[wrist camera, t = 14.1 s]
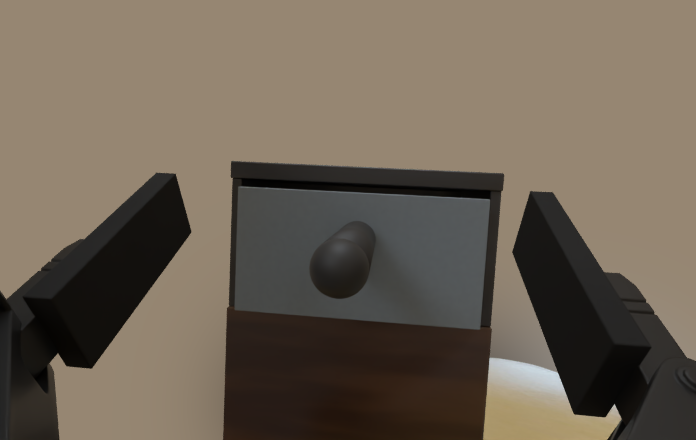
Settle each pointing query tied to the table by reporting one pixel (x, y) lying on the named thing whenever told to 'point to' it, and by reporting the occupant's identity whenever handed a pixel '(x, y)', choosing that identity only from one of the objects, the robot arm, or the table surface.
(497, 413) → the table surface
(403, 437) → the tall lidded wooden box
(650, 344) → the robot arm
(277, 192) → the top drawer
